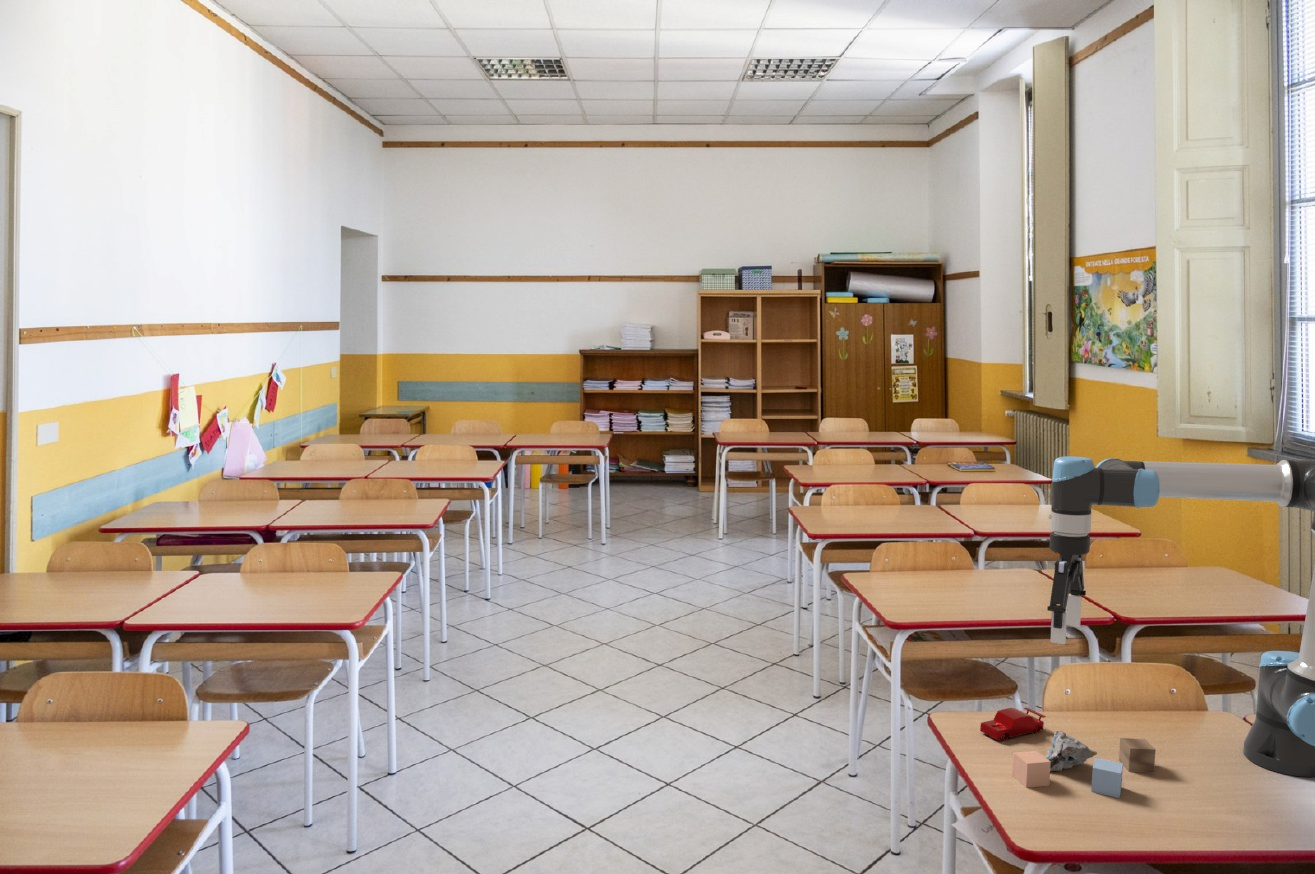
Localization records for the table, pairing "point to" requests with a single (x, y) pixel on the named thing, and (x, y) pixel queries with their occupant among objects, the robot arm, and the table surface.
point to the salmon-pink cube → (1031, 769)
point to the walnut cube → (1137, 755)
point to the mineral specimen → (1067, 752)
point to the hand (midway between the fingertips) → (1065, 634)
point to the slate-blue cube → (1107, 777)
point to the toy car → (1012, 724)
